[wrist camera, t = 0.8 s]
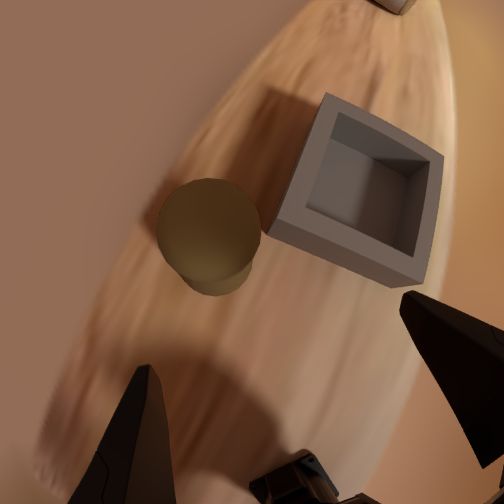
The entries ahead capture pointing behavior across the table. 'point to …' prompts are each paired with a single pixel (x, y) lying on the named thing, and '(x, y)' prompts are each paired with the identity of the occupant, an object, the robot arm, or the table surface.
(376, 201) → the holder block
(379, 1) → the ceramic mug
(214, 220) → the cork
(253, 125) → the table surface
